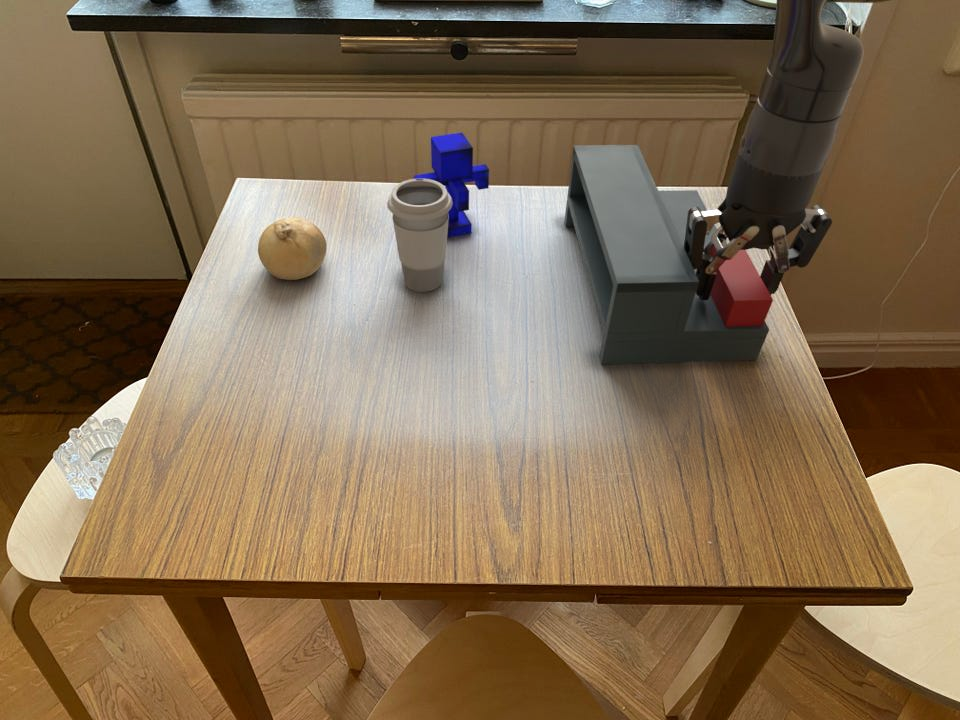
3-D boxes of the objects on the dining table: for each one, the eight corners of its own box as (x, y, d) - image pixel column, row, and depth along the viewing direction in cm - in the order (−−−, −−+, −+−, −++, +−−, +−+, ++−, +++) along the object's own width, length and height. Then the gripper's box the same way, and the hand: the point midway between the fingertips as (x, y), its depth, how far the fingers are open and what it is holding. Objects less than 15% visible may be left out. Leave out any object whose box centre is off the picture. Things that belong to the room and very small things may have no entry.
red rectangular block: (762, 325, 73) (773, 299, 71) (725, 326, 73) (734, 300, 71) (735, 272, 80) (744, 246, 77) (700, 273, 80) (708, 247, 77)
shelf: (756, 360, 76) (790, 279, 68) (601, 364, 75) (617, 283, 67) (689, 219, 95) (709, 143, 88) (564, 221, 94) (573, 145, 87)
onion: (254, 260, 87) (241, 210, 82) (315, 242, 90) (306, 193, 85) (276, 297, 82) (264, 246, 77) (340, 276, 85) (332, 226, 80)
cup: (452, 262, 87) (451, 175, 79) (454, 297, 83) (453, 208, 74) (394, 263, 87) (387, 176, 78) (392, 298, 82) (385, 209, 74)
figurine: (412, 234, 91) (408, 148, 83) (440, 205, 96) (438, 122, 88) (465, 250, 89) (465, 163, 81) (490, 220, 94) (493, 135, 86)
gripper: (717, 174, 61) (675, 319, 73) (877, 172, 62) (810, 316, 74) (693, 133, 66) (658, 274, 78) (841, 131, 67) (784, 272, 79)
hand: (732, 294), depth 76 cm, fingers open, 6 cm apart
